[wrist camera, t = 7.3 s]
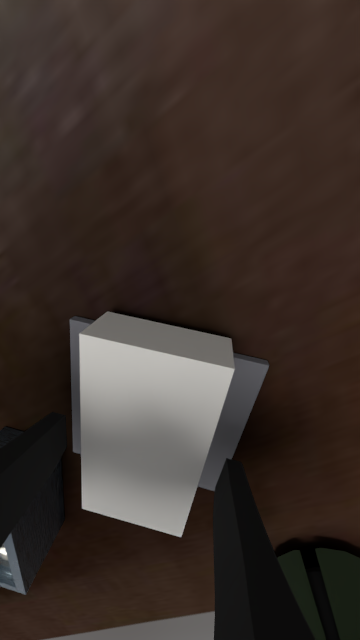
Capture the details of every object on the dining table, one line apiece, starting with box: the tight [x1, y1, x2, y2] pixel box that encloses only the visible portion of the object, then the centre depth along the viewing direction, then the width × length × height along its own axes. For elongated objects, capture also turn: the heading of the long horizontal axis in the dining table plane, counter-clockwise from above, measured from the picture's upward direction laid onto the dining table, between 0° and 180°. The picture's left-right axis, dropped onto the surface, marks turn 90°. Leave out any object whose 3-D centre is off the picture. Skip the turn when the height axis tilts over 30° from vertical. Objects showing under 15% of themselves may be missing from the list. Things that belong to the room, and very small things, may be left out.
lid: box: [79, 311, 235, 537], centre depth 11 cm, size 11×5×2 cm, turn 171°
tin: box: [0, 427, 65, 595], centre depth 15 cm, size 9×4×4 cm, turn 170°
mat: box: [70, 316, 269, 491], centre depth 12 cm, size 9×9×1 cm
